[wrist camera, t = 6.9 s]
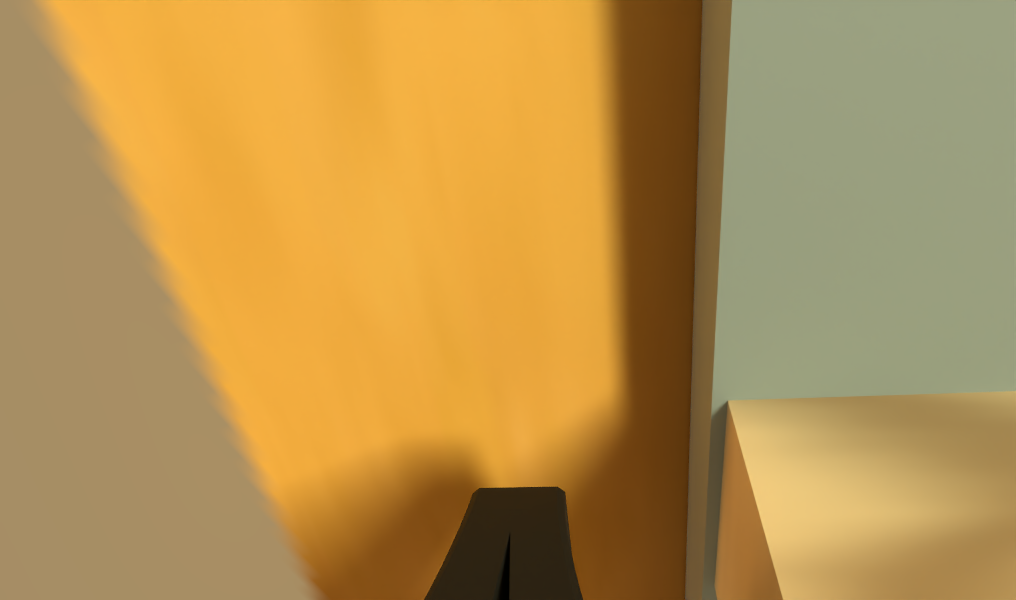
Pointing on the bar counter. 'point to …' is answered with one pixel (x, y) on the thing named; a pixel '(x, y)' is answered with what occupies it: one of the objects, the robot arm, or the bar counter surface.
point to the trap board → (848, 213)
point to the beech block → (869, 498)
